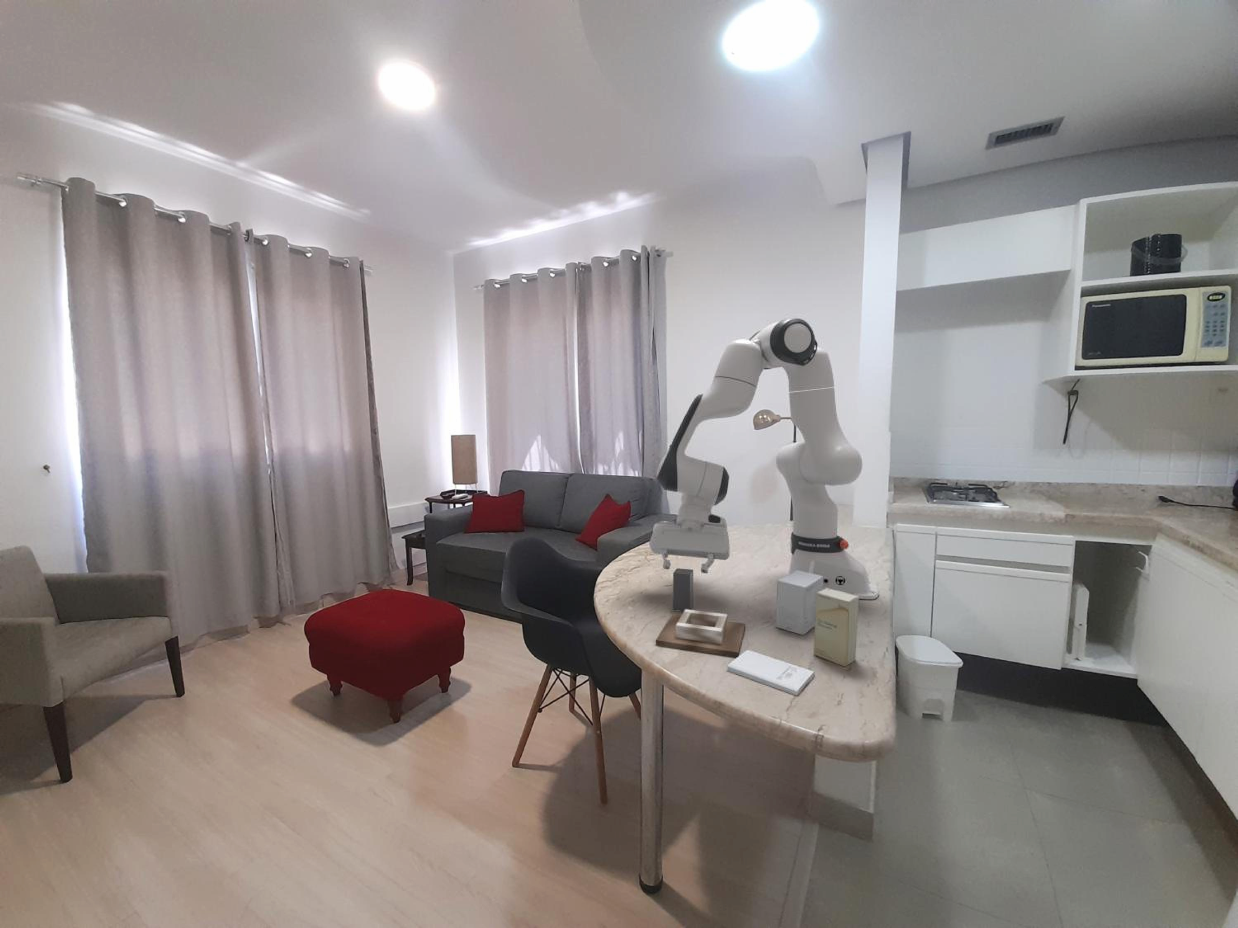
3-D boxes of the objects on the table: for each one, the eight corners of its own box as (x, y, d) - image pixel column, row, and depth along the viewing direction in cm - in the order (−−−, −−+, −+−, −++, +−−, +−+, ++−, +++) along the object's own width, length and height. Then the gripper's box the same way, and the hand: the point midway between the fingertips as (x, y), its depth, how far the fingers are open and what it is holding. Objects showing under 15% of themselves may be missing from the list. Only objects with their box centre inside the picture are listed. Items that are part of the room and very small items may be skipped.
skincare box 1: (804, 636, 97) (805, 586, 97) (774, 627, 102) (775, 579, 101) (823, 620, 105) (824, 574, 104) (794, 613, 109) (795, 569, 109)
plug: (693, 606, 114) (693, 569, 114) (689, 612, 111) (690, 574, 110) (677, 604, 116) (677, 568, 115) (673, 610, 112) (673, 572, 111)
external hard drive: (747, 657, 90) (814, 679, 82) (727, 673, 84) (797, 699, 76) (747, 648, 90) (815, 670, 82) (727, 664, 84) (797, 689, 75)
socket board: (745, 627, 101) (745, 612, 101) (738, 657, 88) (738, 639, 88) (672, 618, 107) (672, 603, 107) (655, 644, 94) (655, 627, 94)
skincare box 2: (813, 654, 89) (814, 592, 88) (824, 647, 92) (825, 586, 91) (846, 667, 84) (848, 601, 83) (857, 659, 87) (859, 595, 86)
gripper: (652, 513, 125) (641, 559, 117) (731, 518, 118) (725, 567, 110) (657, 527, 130) (646, 571, 121) (733, 532, 123) (727, 580, 114)
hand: (684, 570), depth 116 cm, fingers open, 8 cm apart
